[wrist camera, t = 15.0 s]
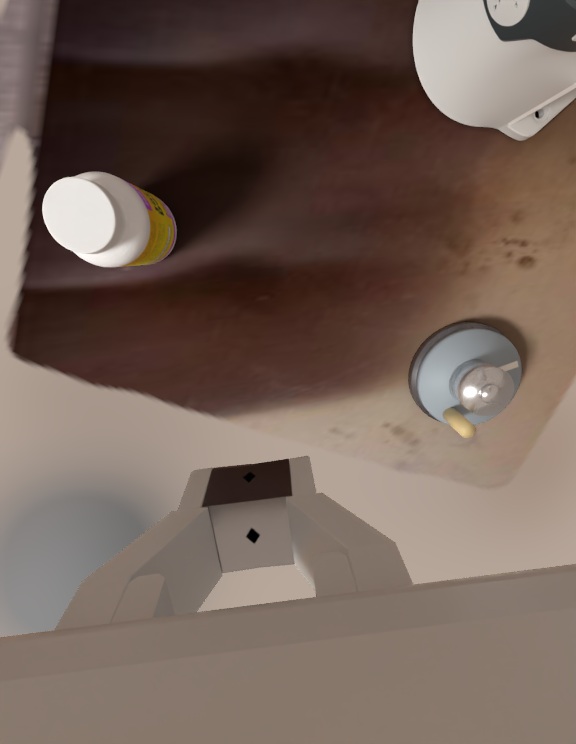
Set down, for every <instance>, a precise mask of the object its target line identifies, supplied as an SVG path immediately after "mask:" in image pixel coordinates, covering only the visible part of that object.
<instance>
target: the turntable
mask: <svg viewBox="0 0 576 744" xmlns="http://www.w3.org/2000/svg"><path fill="white" fill-rule="evenodd" d="M473 359H479V360H484V361H486V362H488V363H490V364H492V365H494V366H496V367H498V368H500V369H502V370H504V371H506V372H507V373H508V374H509V375H510V376H511V377H512V379H513V382H514V393H513V396H512V399H513V397H514V395H515V394H516V392H517V389H518V387H519V384H520V380H521V374H522V366H521V360H520V357H519V354H518V352H517V350H516V348H515V347H514V345H513V344H512V343H511V342H510V341H509V340H508V339H507V338H505V337H504V336H502V335H500V334H498V333H496V332H493V331H490V330H487V329H483V328H464V329H459V330H456V331H454V332H451V333H449V334H447V335H445V336H444V337H442V338H441V339H439V340H438V341H437V342H436V343H434V344H433V345H432V347H431V348H430V349H429V350H428V351H427V353H426V354H425V355H424V357H423V359H422V361H421V363H420V365H419V368H418V372H417V377H416V388H417V393H418V397H419V399H420V401H421V403H422V404H423V406H424V407H425V408H426V410H427V411H428V412H429V413H430V414H431V415H432V416H434V417H435V418H436V419H438V420H439V421H441V422H443V423H445V424H448V425H451V426H452V427H453V428H454V429H455V430H456V431H457V432H458V433H459V434H460V435H461V436H463V437H465V438H468V437H471V436H473V435H474V433H475V431H476V428H475V426H474V425H477V424H480V423H483V422H485V421H488V420H490V419H491V418H493V417H495V416H496V415H497V414H499V413H500V412H501V411H502V410H501V411H500V412H498V413H496V414H493V415H490V416H479V415H475V414H473V413H472V412H470V411H469V410H468V409H466V408H465V407H464V406H463V405H461V404H460V403H459V402H458V401H456V400H455V399H454V398H453V397H452V395H451V394H450V391H449V380H450V377H451V375H452V373H453V372H454V370H455V369H456V368H457V367H458V366H459V365H461V364H462V363H464V362H466V361H469V360H473ZM512 399H511V400H512ZM510 402H511V401H510ZM510 402H509V403H510ZM505 408H506V407H505Z"/></svg>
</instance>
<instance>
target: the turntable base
mask: <svg viewBox="0 0 576 744" xmlns="http://www.w3.org/2000/svg"><path fill="white" fill-rule="evenodd" d="M464 328H483V329H487V330H490V331H493V332H496V333H498V334H500V335H502V336H504V335H503V334H502V333H501V332H499V331H498V330H496V329H494V328H492V327H490V326H487V325H484V324H481V323H476V322H459V323H454V324H451V325H448V326H445V327H443V328H441V329H439V330H438V331H436V332H435V333H433V334H432V335H431V336H429V337H428V338H427V339H426V340H425V341H424V342H423V343H422V345H421V346H420V347H419V349H418V350H417V352H416V353H415V355H414V357H413V360H412V362H411V365H410V369H409V379H408V382H409V389H410V392H411V395H412V397H413V399H414V401H415V402H416V404H417V405H418V406H419V407H420V409H421V410H422V411H423V412H424V413H426V414H427V415H428V416H430V417H431V418H433V419H435V420H437V421H439V420H438V419H436V418H435V417H434V416H432V415H431V414H430V413H429V412H428V411H427V410H426V408H425V407H424V406H423V404H422V403H421V401H420V399H419V397H418V393H417V388H416V377H417V372H418V368H419V365H420V363H421V361H422V359H423V357H424V355H425V354H426V353H427V351H428V350H429V349H430V348H431V347H432V345H433V344H434V343H436V342H437V341H438V340H439V339H441V338H442V337H444V336H445V335H447V334H449V333H451V332H454V331H456V330H459V329H464ZM504 337H505V336H504ZM505 338H506V337H505ZM440 422H441V421H440Z"/></svg>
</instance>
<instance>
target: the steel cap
mask: <svg viewBox="0 0 576 744" xmlns="http://www.w3.org/2000/svg"><path fill="white" fill-rule="evenodd" d="M449 391H450V394H451V395H452V397H453V398H454V399H455V400H456V401H458V402H459V403H460V404H461V405H463V406H464V407H465V408H466V409H468V410H469V411H470V412H472V413H473V414H475V415H479V416H490V415H493V414H496V413H498V412H500V411H501V410H503V409H504V408H505V407H506V406H507V405H508V404H509V402H510V401H511V399H512V396H513V393H514V382H513V379H512V377H511V376H510V375H509V374H508V373H507V372H506V371H504V370H502V369H500V368H498V367H496V366H494V365H492V364H490V363H488V362H486V361H484V360H479V359H473V360H469V361H466V362H464V363H462V364H461V365H459V366H458V367H457V368H456V369H455V370H454V372H453V373H452V375H451V377H450V380H449Z"/></svg>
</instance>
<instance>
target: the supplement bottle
mask: <svg viewBox="0 0 576 744" xmlns="http://www.w3.org/2000/svg"><path fill="white" fill-rule="evenodd" d="M42 211H43V218H44V221H45V224H46V226H47V229H48V230H49V232H50V234H51V235H52V236H53V237H54V239H55V240H56V241H57V242H58V243H59V244H61V245H62V246H64V247H65V248H67V249H69V250H71V251H73V252H74V253H75V254H77V255H78V256H79V257H80V258H82V259H84V260H85V261H87V262H89V263H92V264H94V265H98V266H102V267H121V266H135V265H148V264H154V263H157V262H159V261H161V260H163V259H164V258H165V257H167V256H168V255H169V253H170V252H171V251H172V249H173V247H174V245H175V242H176V235H177V229H176V223H175V220H174V217H173V215H172V213H171V211H170V210H169V208H168V207H167V206H166V205H165V203H163V202H162V201H161V200H160V199H159V198H157V197H156V196H154V195H152V194H150V193H148V192H146V191H144V190H143V189H140V188H138V187H136V186H134V185H132V184H130V183H128V182H126V181H124V180H122V179H120V178H118V177H116V176H114V175H111V174H108V173H104V172H87V173H83V174H80V175H77V176H75V177H67V178H63V179H60V180H58V181H57V182H55V183H54V184H53V185H52V186H51V187H50V188H49V189H48V191H47V192H46V194H45V196H44V200H43V207H42Z"/></svg>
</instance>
